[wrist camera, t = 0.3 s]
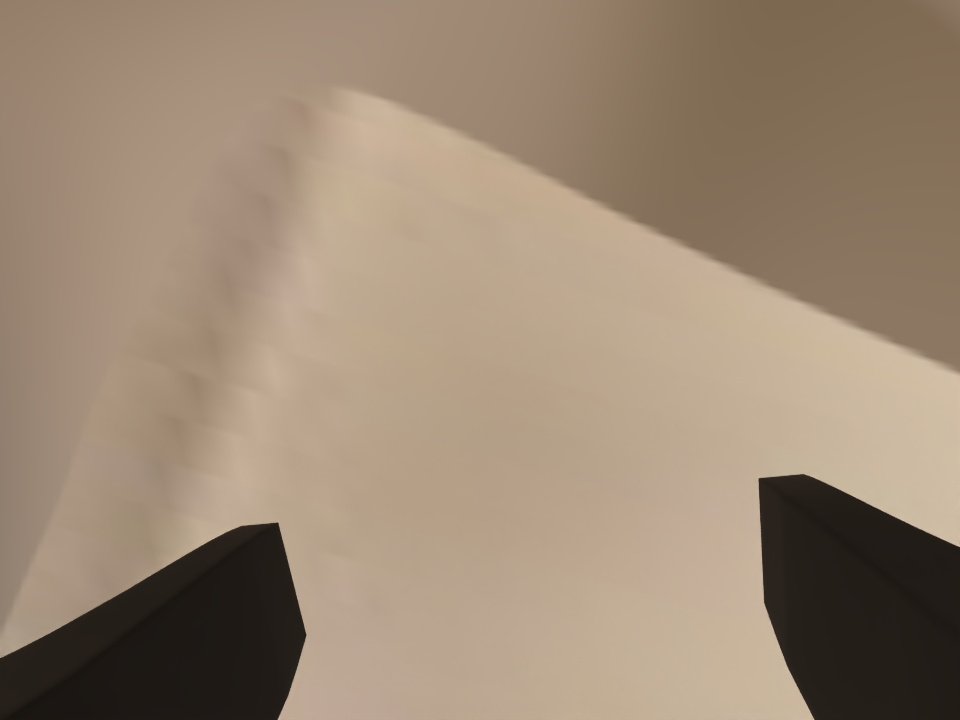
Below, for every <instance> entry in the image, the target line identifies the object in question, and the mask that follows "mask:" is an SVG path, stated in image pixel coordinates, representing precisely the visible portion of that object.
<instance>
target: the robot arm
mask: <svg viewBox="0 0 960 720" xmlns="http://www.w3.org/2000/svg"><path fill="white" fill-rule="evenodd" d="M759 499H760V521H761V543H762V564H763V586H764V604H765V606H766V609H767V612H768V615H769V618H770V621H771V623H772V626H773V629H774V632H775V635H776V638H777V640H778V643H779V645H780V648H781V651H782V653H783V656H784V659H785V661H786V664H787V667H788V669H789V671H790V673H791V675H792V677H793V679H794V681H795V683H796V684H797V686H798V688H799V690H800V692H801V694H802V696H803V698H804V700H805V702H806V704H807V706H808V708H809V710H810V712H811V714H812V716H813V718H814V719H815V720H960V547H958V546H956V545H953V544H951V543H949V542H947V541H944V540H942V539H940V538H938V537H936V536H933V535H931V534H929V533H927V532H925V531H923V530H920V529H918V528H916V527H914V526H912V525H910V524H908V523H906V522H904V521H902V520H900V519H897V518H895V517H893V516H891V515H889V514H887V513H885V512H883V511H881V510H879V509H877V508H875V507H873V506H871V505H869V504H867V503H865V502H863V501H861V500H859V499H857V498H855V497H853V496H851V495H849V494H847V493H845V492H843V491H841V490H839V489H837V488H835V487H832V486H830V485H828V484H826V483H824V482H822V481H820V480H817V479H815V478H813V477H810V476H807V475H804V474H800V475H789V476H779V477H768V478H759ZM305 638H306V632H305V628H304V624H303V620H302V616H301V612H300V608H299V604H298V600H297V596H296V592H295V588H294V584H293V580H292V576H291V572H290V568H289V564H288V560H287V556H286V552H285V548H284V544H283V540H282V536H281V532H280V528H279V524H278V523H269V524H258V525H247V526H240V527H238V528H236V529H233V530H231V531H229V532H226V533H224V534H222V535H220V536H219V537H217V538H215V539H213V540H211V541H209V542H207V543H206V544H204V545H202V546H200V547H199V548H197V549H195V550H193V551H192V552H190V553H188V554H186V555H185V556H183V557H181V558H180V559H178V560H176V561H175V562H173V563H171V564H170V565H168V566H166V567H165V568H163V569H161V570H160V571H158V572H156V573H155V574H153V575H151V576H150V577H148V578H146V579H145V580H143V581H141V582H139V583H138V584H136V585H134V586H133V587H131V588H129V589H128V590H126V591H124V592H123V593H121V594H119V595H117V596H116V597H114V598H112V599H110V600H109V601H107V602H105V603H103V604H101V605H100V606H98V607H96V608H94V609H93V610H91V611H89V612H87V613H85V614H84V615H82V616H80V617H78V618H77V619H75V620H73V621H71V622H69V623H68V624H66V625H64V626H62V627H60V628H59V629H57V630H55V631H53V632H51V633H50V634H48V635H46V636H44V637H42V638H40V639H38V640H36V641H34V642H32V643H30V644H28V645H26V646H24V647H22V648H20V649H18V650H17V651H15V652H13V653H11V654H8V655H6V656H4V657H2V658H0V720H278V717H279V715H280V713H281V711H282V708H283V706H284V704H285V702H286V699H287V697H288V694H289V691H290V688H291V685H292V682H293V679H294V676H295V673H296V670H297V666H298V663H299V659H300V656H301V652H302V649H303V645H304V642H305Z"/></svg>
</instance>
